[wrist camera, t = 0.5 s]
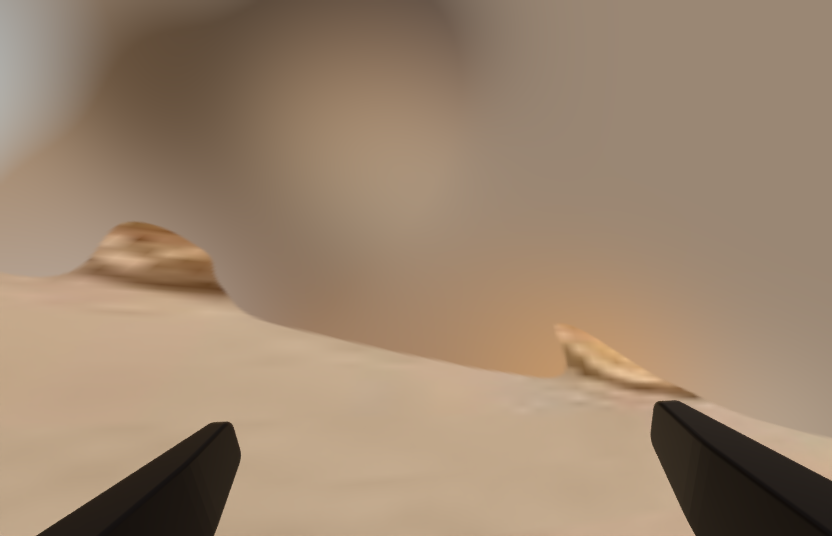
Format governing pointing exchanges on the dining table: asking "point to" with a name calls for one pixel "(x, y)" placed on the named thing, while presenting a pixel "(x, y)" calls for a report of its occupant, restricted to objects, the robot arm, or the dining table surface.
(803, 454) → the dining table surface
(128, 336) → the dining table surface
